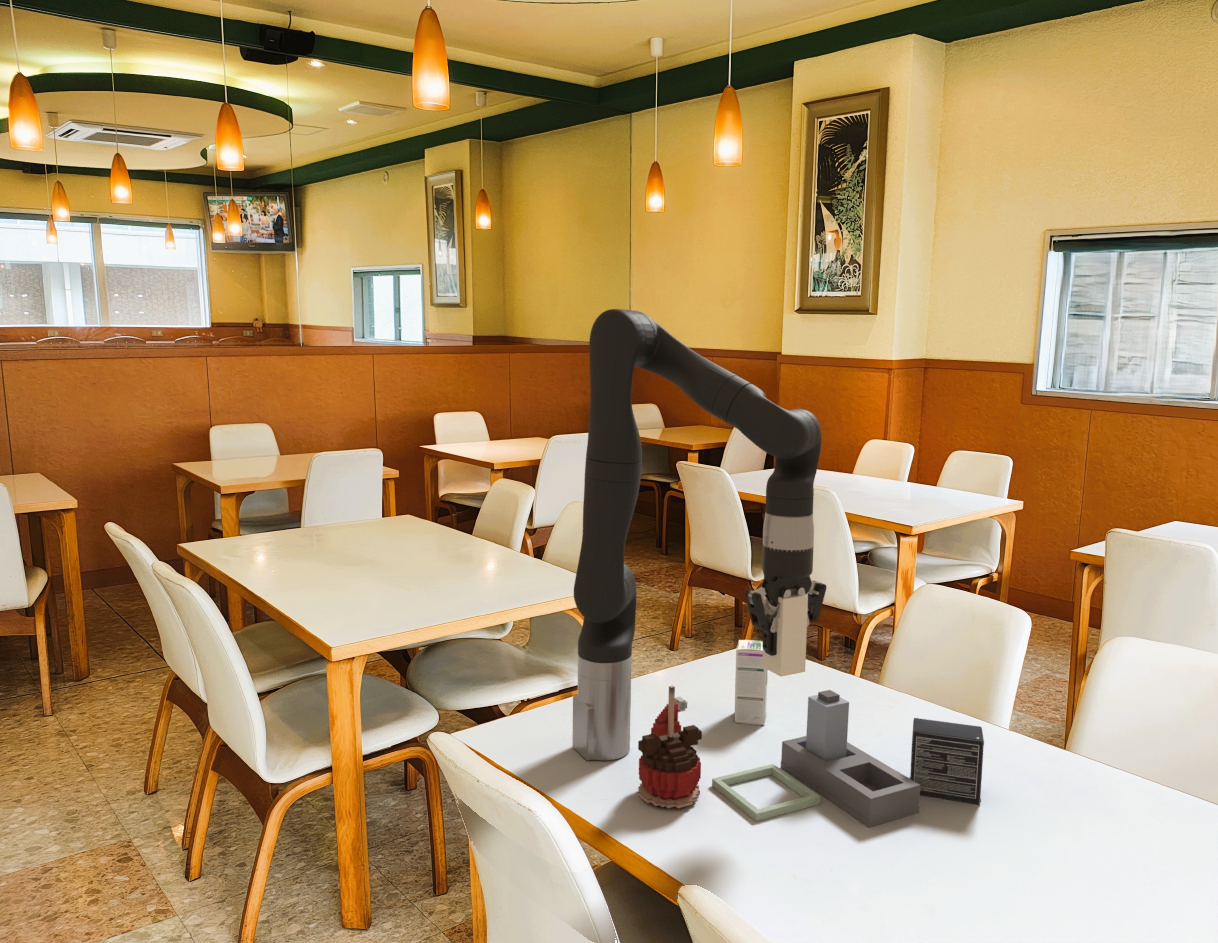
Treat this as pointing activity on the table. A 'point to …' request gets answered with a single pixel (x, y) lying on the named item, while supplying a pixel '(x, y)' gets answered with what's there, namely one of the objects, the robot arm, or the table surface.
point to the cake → (670, 759)
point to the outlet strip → (854, 782)
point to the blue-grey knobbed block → (827, 725)
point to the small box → (947, 760)
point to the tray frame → (771, 811)
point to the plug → (789, 636)
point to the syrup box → (750, 683)
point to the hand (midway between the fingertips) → (784, 651)
